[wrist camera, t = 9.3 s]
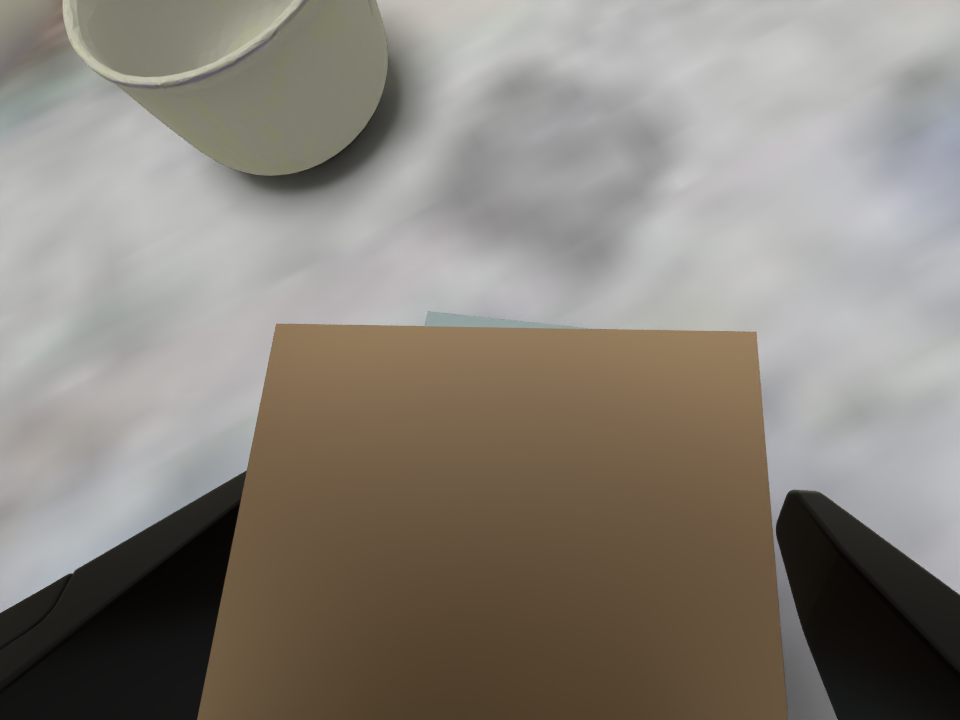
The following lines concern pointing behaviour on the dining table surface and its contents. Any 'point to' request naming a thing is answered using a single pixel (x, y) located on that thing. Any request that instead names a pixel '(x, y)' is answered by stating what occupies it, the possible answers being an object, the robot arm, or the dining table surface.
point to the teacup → (242, 72)
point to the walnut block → (503, 530)
